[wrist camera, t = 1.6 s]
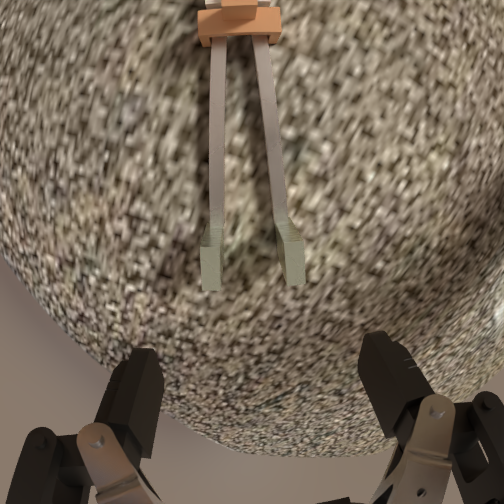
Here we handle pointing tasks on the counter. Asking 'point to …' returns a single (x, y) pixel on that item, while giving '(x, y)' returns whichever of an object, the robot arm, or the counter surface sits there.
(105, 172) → the counter surface
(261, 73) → the leg
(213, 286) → the leg
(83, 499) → the robot arm
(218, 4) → the block
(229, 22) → the stepped wooden block
